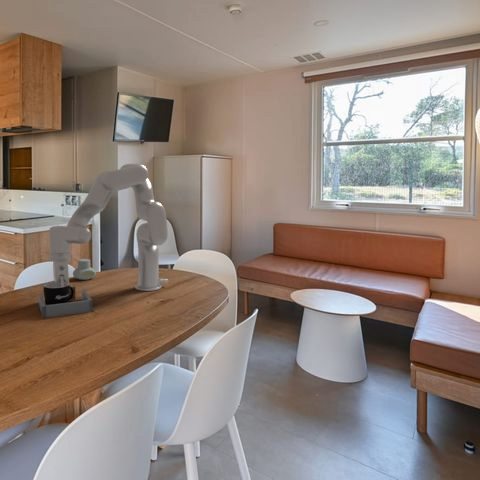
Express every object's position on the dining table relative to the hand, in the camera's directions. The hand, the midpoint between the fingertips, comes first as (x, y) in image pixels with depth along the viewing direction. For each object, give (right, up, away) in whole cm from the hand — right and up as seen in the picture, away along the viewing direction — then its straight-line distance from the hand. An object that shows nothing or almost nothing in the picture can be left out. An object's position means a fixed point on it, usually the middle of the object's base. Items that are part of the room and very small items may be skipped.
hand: (60, 299), depth 157 cm
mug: (+3, -3, -7) cm, 8 cm away
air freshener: (-6, +4, +39) cm, 39 cm away
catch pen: (+5, -3, -6) cm, 8 cm away
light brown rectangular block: (0, 0, 0) cm, 0 cm away
